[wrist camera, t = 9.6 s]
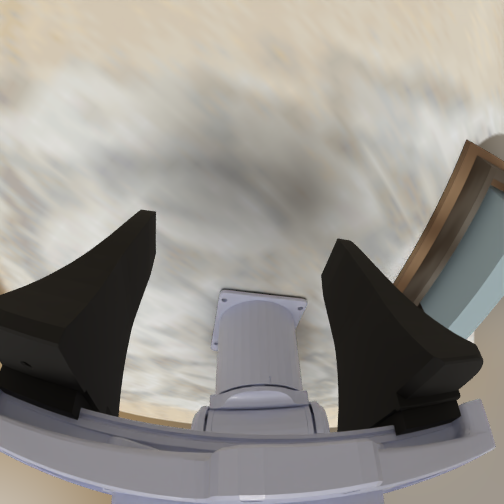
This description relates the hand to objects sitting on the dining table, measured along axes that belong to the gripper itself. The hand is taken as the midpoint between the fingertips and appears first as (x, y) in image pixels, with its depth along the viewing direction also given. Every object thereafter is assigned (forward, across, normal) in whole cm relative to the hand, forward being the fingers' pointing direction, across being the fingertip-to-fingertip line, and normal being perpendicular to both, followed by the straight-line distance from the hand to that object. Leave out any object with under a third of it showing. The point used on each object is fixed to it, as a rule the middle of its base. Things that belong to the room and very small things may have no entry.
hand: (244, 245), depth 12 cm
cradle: (+9, -21, +3) cm, 23 cm away
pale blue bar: (+9, -21, +3) cm, 23 cm away
